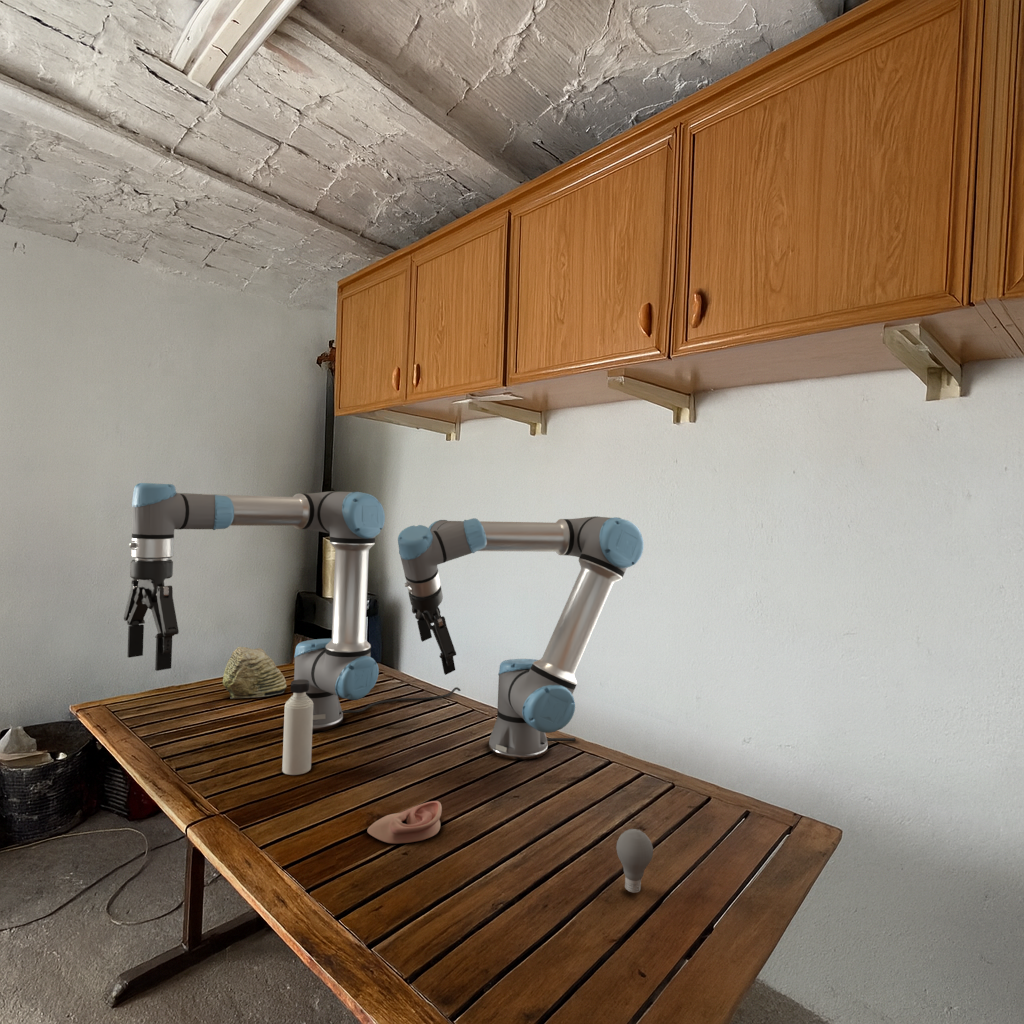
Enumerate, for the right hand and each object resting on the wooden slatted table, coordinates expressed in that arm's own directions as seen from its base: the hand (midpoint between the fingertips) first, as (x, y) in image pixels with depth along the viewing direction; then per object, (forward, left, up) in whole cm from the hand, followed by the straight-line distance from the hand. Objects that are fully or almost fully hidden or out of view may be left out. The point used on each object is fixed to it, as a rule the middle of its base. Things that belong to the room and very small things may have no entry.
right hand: (437, 654), depth 156 cm
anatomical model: (+13, +33, -25) cm, 43 cm away
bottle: (+32, 0, -25) cm, 41 cm away
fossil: (+44, -59, -25) cm, 78 cm away
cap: (+32, 0, -5) cm, 33 cm away
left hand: (+62, +7, +3) cm, 62 cm away
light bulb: (-21, +61, -25) cm, 70 cm away
